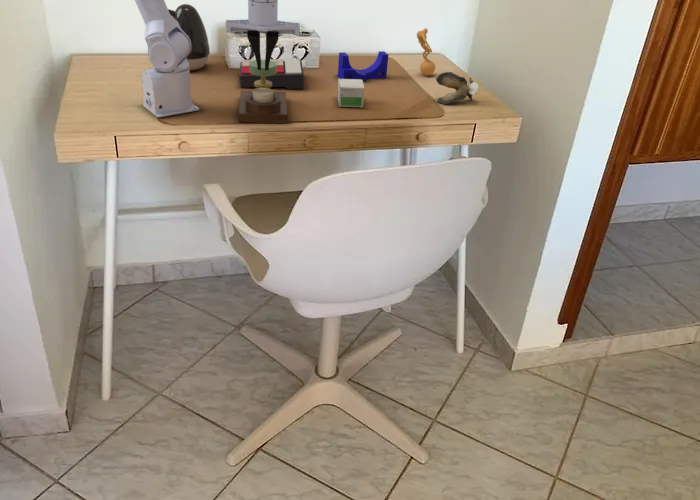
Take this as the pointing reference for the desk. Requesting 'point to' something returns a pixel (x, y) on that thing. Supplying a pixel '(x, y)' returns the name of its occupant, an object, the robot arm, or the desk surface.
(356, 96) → the small box
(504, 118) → the desk surface
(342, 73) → the blue u-shaped cradle
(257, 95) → the lamp switch
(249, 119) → the lamp base
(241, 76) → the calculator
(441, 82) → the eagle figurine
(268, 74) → the lamp
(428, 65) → the figurine
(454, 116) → the desk surface
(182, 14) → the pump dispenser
